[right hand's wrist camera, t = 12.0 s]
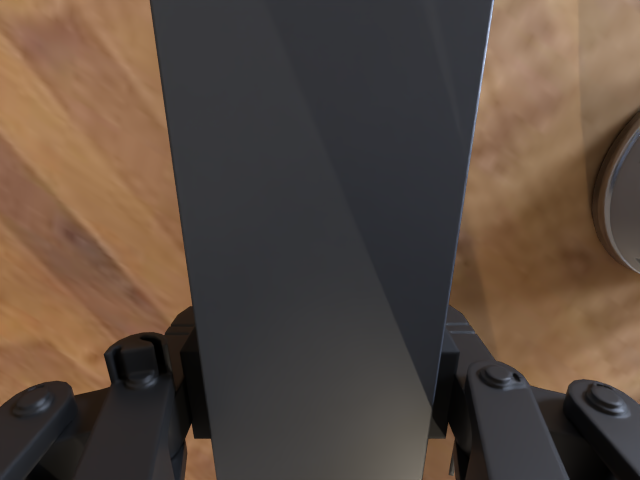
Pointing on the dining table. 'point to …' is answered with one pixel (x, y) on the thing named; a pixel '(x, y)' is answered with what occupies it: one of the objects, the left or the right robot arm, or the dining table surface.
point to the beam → (320, 219)
